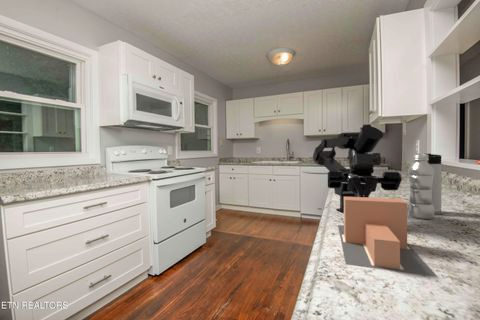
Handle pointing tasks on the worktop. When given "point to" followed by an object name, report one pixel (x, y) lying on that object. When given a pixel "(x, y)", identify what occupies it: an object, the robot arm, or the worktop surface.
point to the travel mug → (436, 181)
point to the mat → (361, 257)
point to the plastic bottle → (421, 188)
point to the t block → (377, 227)
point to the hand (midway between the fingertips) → (364, 205)
